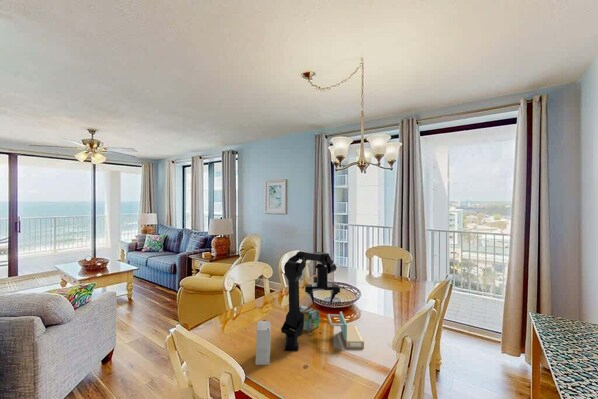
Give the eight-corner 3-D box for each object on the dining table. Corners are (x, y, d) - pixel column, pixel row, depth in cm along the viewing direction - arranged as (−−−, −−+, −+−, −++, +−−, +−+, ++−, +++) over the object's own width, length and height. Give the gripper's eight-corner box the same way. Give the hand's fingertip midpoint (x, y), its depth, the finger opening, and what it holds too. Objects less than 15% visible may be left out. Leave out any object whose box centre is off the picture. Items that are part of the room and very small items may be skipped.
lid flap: (347, 324, 124) (330, 324, 124) (346, 340, 124) (329, 339, 124) (341, 311, 139) (326, 311, 139) (341, 325, 139) (326, 325, 139)
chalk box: (292, 325, 146) (313, 335, 135) (293, 308, 146) (313, 317, 136) (303, 320, 152) (324, 329, 142) (304, 304, 152) (324, 312, 142)
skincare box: (256, 354, 117) (257, 320, 117) (270, 353, 118) (270, 320, 118) (255, 365, 109) (256, 329, 109) (270, 365, 110) (270, 329, 110)
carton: (364, 348, 124) (364, 341, 124) (347, 347, 124) (347, 341, 124) (356, 331, 140) (356, 325, 140) (341, 331, 140) (341, 325, 140)
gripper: (337, 271, 152) (336, 299, 152) (304, 271, 152) (304, 298, 152) (340, 277, 141) (340, 306, 141) (305, 276, 141) (305, 306, 141)
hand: (322, 304), depth 144 cm, fingers open, 9 cm apart
